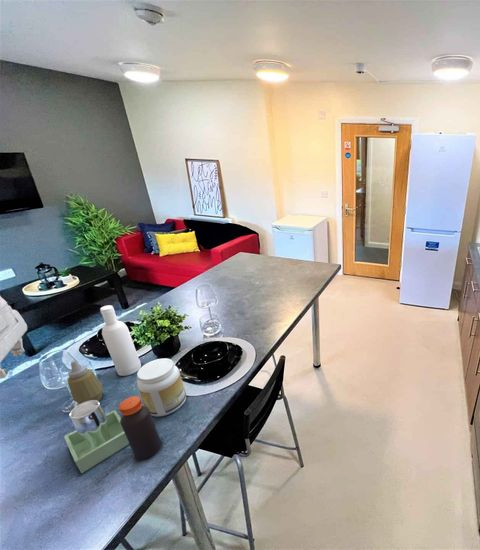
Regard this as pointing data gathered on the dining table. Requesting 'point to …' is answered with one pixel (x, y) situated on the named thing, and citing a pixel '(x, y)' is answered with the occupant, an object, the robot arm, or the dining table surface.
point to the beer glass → (91, 423)
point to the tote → (93, 457)
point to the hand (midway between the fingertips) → (11, 365)
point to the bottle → (119, 343)
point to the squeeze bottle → (83, 384)
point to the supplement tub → (161, 387)
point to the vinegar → (139, 428)
